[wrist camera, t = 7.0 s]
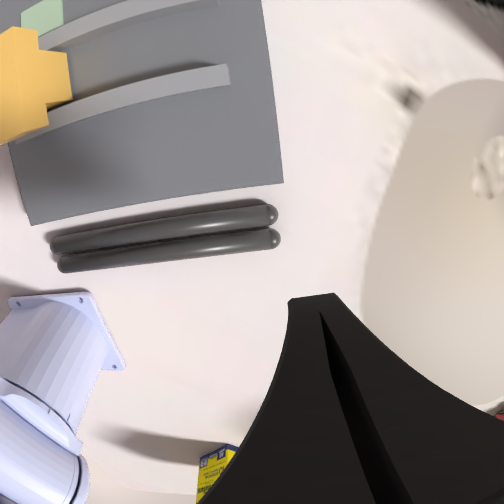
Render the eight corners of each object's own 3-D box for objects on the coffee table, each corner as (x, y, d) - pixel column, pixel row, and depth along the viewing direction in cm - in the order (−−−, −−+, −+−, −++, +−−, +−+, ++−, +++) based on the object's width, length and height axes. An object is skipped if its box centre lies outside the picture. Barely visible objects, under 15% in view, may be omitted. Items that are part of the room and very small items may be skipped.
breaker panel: (61, 269, 20) (42, 292, 17) (8, 6, 11) (-19, 1, 8) (286, 241, 19) (293, 266, 17) (245, -76, 10) (245, -100, 8)
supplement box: (226, 442, 31) (224, 529, 21) (267, 455, 33) (271, 535, 23) (198, 457, 33) (191, 534, 23) (236, 469, 35) (236, 541, 25)
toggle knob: (35, 134, 14) (-18, 152, 10) (24, 56, 12) (-30, 56, 8) (76, 118, 14) (24, 131, 10) (64, 35, 12) (12, 26, 7)
